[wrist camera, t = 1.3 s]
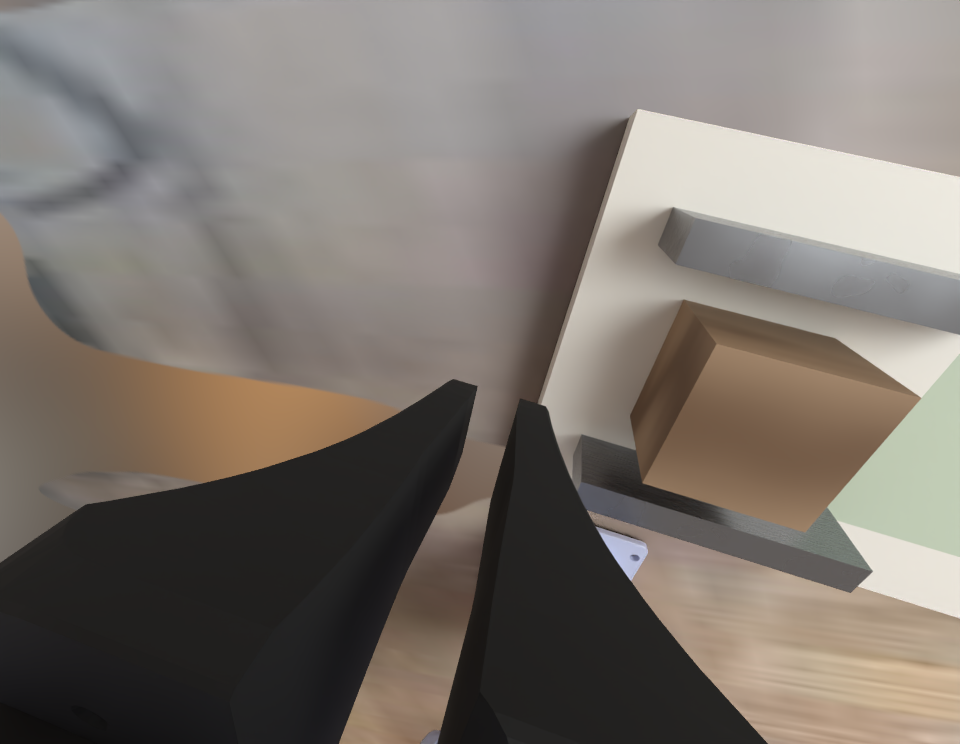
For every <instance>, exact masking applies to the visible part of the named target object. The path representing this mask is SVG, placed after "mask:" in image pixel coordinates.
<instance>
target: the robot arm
mask: <svg viewBox="0 0 960 744" xmlns="http://www.w3.org/2000/svg"><path fill="white" fill-rule="evenodd" d="M477 387H478V386H475V385H472V384H468V383H465V382H461V381H458V380H454V379H453V380H451V381H449V382H447V383H445V384H444V385H442V386H441V387H439V388H438V389H436V390H435V391H433V392H432V393H430V394H429V395H427V396H426V397H424V398H423V399H421V400H420V401H418V402H416V403H415V404H413V405H411V406H410V407H408V408H406V409H405V410H403V411H401V412H400V413H398V414H396V415H394V416H393V417H391V418H389V419H387V420H385V421H383V422H381V423H379V424H377V425H375V426H373V427H371V428H370V429H368V430H366V431H364V432H362V433H360V434H357V435H355V436H353V437H351V438H349V439H346V440H344V441H341V442H339V443H336V444H334V445H331V446H329V447H326V448H324V449H321V450H318V451H316V452H313V453H310V454H307V455H303V456H300V457H297V458H294V459H291V460H288V461H285V462H282V463H279V464H275V465H272V466H269V467H266V468H263V469H259V470H255V471H251V472H248V473H244V474H240V475H236V476H232V477H229V478H224V479H220V480H215V481H211V482H207V483H202V484H198V485H193V486H189V487H184V488H179V489H174V490H168V491H163V492H157V493H151V494H146V495H140V496H135V497H129V498H123V499H118V500H112V501H106V502H100V503H93V504H87V505H85V506H83V507H81V508H80V509H78V510H77V511H75V512H74V513H72V514H71V515H69V516H68V517H67V518H65V519H63V520H62V521H61V522H59V523H58V524H56V525H55V526H53V527H52V528H51V529H49V530H48V531H46V532H44V533H43V534H42V535H40V536H39V537H38V538H36V539H34V540H33V541H32V542H30V543H28V544H27V545H26V546H24V547H23V548H21V549H20V550H18V551H17V552H15V553H14V554H12V555H11V556H10V557H8V558H7V559H5V560H4V561H2V562H1V563H0V744H339V741H340V739H341V736H342V734H343V731H344V728H345V726H346V723H347V720H348V718H349V715H350V713H351V710H352V707H353V705H354V702H355V699H356V697H357V694H358V692H359V689H360V686H361V684H362V681H363V679H364V676H365V674H366V671H367V668H368V666H369V663H370V661H371V658H372V656H373V653H374V651H375V648H376V645H377V643H378V640H379V638H380V635H381V633H382V630H383V628H384V625H385V623H386V620H387V618H388V615H389V613H390V610H391V608H392V605H393V603H394V600H395V598H396V595H397V593H398V590H399V588H400V586H401V583H402V581H403V579H404V577H405V575H406V572H407V570H408V568H409V566H410V564H411V562H412V560H413V558H414V556H415V554H416V552H417V551H418V549H419V547H420V545H421V543H422V541H423V539H424V537H425V535H426V533H427V531H428V529H429V527H430V525H431V523H432V521H433V519H434V517H435V515H436V513H437V511H438V509H439V507H440V505H441V503H442V501H443V499H444V498H445V496H446V493H447V491H448V490H449V487H450V485H451V482H452V480H453V477H454V474H455V471H456V469H457V466H458V463H459V461H460V458H461V455H462V452H463V448H464V443H465V439H466V435H467V430H468V426H469V422H470V417H471V413H472V409H473V404H474V400H475V396H476V391H477ZM647 553H648V550H647V545H646V544H645V543H644V542H642V541H640V540H636V539H633V538H630V537H627V536H624V535H621V534H618V533H614V532H611V531H608V530H605V529H602V528H599V527H596V526H595V525H594V523H593V521H592V519H591V518H590V516H589V514H588V512H587V510H586V508H585V506H584V504H583V502H582V500H581V498H580V496H579V494H578V492H577V490H576V488H575V486H574V483H573V481H572V479H571V476H570V474H569V472H568V469H567V467H566V464H565V462H564V459H563V457H562V454H561V452H560V449H559V446H558V443H557V440H556V437H555V434H554V430H553V427H552V423H551V419H550V415H549V411H548V409H547V407H546V406H544V405H540V404H537V403H533V402H530V401H526V400H523V399H520V401H519V405H518V408H517V411H516V415H515V418H514V422H513V425H512V428H511V432H510V435H509V439H508V442H507V445H506V449H505V452H504V456H503V459H502V463H501V466H500V470H499V473H498V477H497V480H496V484H495V488H494V491H493V495H492V498H491V502H490V508H489V514H488V520H487V526H486V532H485V538H484V544H483V550H482V556H481V562H480V568H479V574H478V580H477V586H476V592H475V597H474V601H473V606H472V611H471V615H470V619H469V623H468V627H467V631H466V635H465V639H464V643H463V646H462V650H461V654H460V658H459V662H458V666H457V670H456V673H455V677H454V681H453V685H452V689H451V693H450V697H449V700H448V704H447V708H446V712H445V716H444V720H443V724H442V727H441V731H440V730H433V731H431V732H430V733H428V734H427V735H426V737H425V738H424V739H423V740H422V741H421V743H420V744H768V743H767V742H766V741H765V740H764V739H763V738H762V737H761V736H760V735H759V734H758V732H757V731H756V730H755V729H754V728H753V727H752V726H751V725H750V724H749V722H748V721H747V720H746V719H745V718H744V717H743V716H742V715H741V714H740V713H739V711H738V710H737V709H736V708H735V707H734V706H733V705H732V704H731V703H730V702H729V700H728V699H727V698H726V697H725V696H724V695H723V694H722V693H721V692H720V690H719V689H718V688H717V687H716V686H715V685H714V684H713V683H712V682H711V681H710V679H709V678H708V677H707V676H706V675H705V674H704V673H703V672H702V671H701V670H700V668H699V667H698V666H697V665H696V664H695V663H694V661H693V660H692V659H691V658H690V657H689V655H688V654H687V653H686V652H685V650H684V649H683V648H682V647H681V646H680V644H679V643H678V642H677V641H676V639H675V638H674V637H673V636H672V635H671V633H670V632H669V631H668V630H667V628H666V627H665V626H664V625H663V624H662V622H661V621H660V620H659V619H658V617H657V616H656V615H655V613H654V612H653V611H652V609H651V608H650V607H649V605H648V604H647V603H646V602H645V600H644V599H643V597H642V596H641V595H640V593H639V592H638V590H637V589H636V588H635V586H634V585H633V583H632V582H631V580H632V578H633V577H634V575H635V573H636V572H637V570H638V568H639V567H640V565H641V564H642V562H643V560H644V559H645V557H646V555H647Z"/></svg>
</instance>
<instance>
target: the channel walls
mask: <svg viewBox="0 0 960 744" xmlns="http://www.w3.org/2000/svg"><path fill="white" fill-rule="evenodd" d="M658 246H659V247H660V248H661V249H662V250H663V251H664V252H665V253H666V255H667V256H668V257H669V258H670V259H671V260H672V261H673V262H674V263H675V264H676V265H680V266H684V267H688V268H692V269H696V270H700V271H704V272H708V273H712V274H716V275H720V276H724V277H728V278H732V279H736V280H740V281H744V282H748V283H752V284H756V285H760V286H764V287H768V288H772V289H776V290H781V291H785V292H789V293H793V294H797V295H801V296H805V297H809V298H813V299H817V300H821V301H825V302H829V303H833V304H837V305H841V306H845V307H849V308H853V309H857V310H861V311H865V312H869V313H873V314H877V315H881V316H885V317H890V318H894V319H898V320H902V321H906V322H910V323H914V324H918V325H922V326H926V327H930V328H934V329H938V330H942V331H946V332H950V333H954V334H958V335H960V274H958V273H953V272H949V271H945V270H940V269H936V268H932V267H928V266H923V265H919V264H915V263H911V262H906V261H902V260H898V259H893V258H889V257H885V256H881V255H876V254H872V253H868V252H864V251H859V250H855V249H851V248H846V247H842V246H838V245H834V244H829V243H825V242H821V241H816V240H812V239H808V238H804V237H799V236H795V235H791V234H787V233H782V232H778V231H774V230H769V229H765V228H761V227H757V226H752V225H748V224H744V223H740V222H735V221H731V220H727V219H722V218H718V217H714V216H710V215H705V214H701V213H697V212H693V211H688V210H684V209H680V208H675V207H673V208H672V211H671V213H670V216H669V218H668V221H667V223H666V226H665V228H664V231H663V233H662V236H661V238H660V241H659V243H658ZM572 481H573V483H574V486H575V488H576V490H577V492H578V494H579V496H580V498H581V500H582V502H583V504H584V506H585V508H586V510H588V511H592V512H595V513H598V514H601V515H604V516H608V517H611V518H614V519H617V520H620V521H623V522H627V523H630V524H633V525H636V526H639V527H643V528H646V529H649V530H652V531H655V532H658V533H662V534H665V535H668V536H671V537H674V538H678V539H681V540H684V541H687V542H690V543H693V544H697V545H700V546H703V547H706V548H709V549H713V550H716V551H719V552H722V553H725V554H728V555H732V556H735V557H738V558H741V559H744V560H748V561H751V562H754V563H757V564H760V565H763V566H767V567H770V568H773V569H776V570H779V571H783V572H786V573H789V574H792V575H795V576H798V577H802V578H805V579H808V580H811V581H814V582H818V583H821V584H824V585H827V586H830V587H833V588H837V589H840V590H843V591H846V592H849V593H851V592H852V591H853V590H854V589H855V588H856V587H857V586H858V585H859V584H861V583H862V582H863V581H864V580H865V579H866V578H867V577H868V576H869V575H870V574H871V573H872V572H873V571H872V569H871V568H870V567H869V565H868V564H867V562H866V561H865V560H864V558H863V557H862V555H861V554H860V553H859V551H858V550H857V548H856V547H855V546H854V544H853V543H852V541H851V540H850V538H849V537H848V536H847V534H846V533H845V531H844V530H843V529H842V527H841V526H840V524H839V523H838V522H837V520H836V519H835V517H834V516H833V515H832V513H831V512H830V510H829V509H828V508H826V509H825V510H824V511H823V512H822V514H821V515H820V516H819V517H818V518H817V519H816V520H815V522H814V523H813V524H812V525H811V526H810V527H809V529H808V530H807V531H806V532H802V531H798V530H795V529H792V528H788V527H785V526H782V525H778V524H775V523H772V522H769V521H765V520H762V519H759V518H755V517H752V516H749V515H745V514H742V513H739V512H736V511H732V510H729V509H726V508H722V507H719V506H716V505H713V504H709V503H706V502H703V501H699V500H696V499H693V498H689V497H686V496H683V495H680V494H676V493H673V492H670V491H666V490H663V489H660V488H657V487H653V486H650V485H647V484H643V483H642V479H641V474H640V468H639V463H638V457H637V452H636V450H633V449H630V448H627V447H623V446H620V445H616V444H613V443H610V442H606V441H603V440H600V439H596V438H593V437H589V436H586V435H583V434H581V437H580V439H579V442H578V444H577V447H576V449H575V452H574V454H573V470H572Z"/></svg>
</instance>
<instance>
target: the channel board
mask: <svg viewBox="0 0 960 744" xmlns="http://www.w3.org/2000/svg"><path fill="white" fill-rule="evenodd" d="M673 207H675V208H680V209H684V210H688V211H693V212H697V213H701V214H705V215H710V216H714V217H718V218H722V219H727V220H731V221H735V222H740V223H744V224H748V225H752V226H757V227H761V228H765V229H769V230H774V231H778V232H782V233H787V234H791V235H795V236H799V237H804V238H808V239H812V240H816V241H821V242H825V243H829V244H834V245H838V246H842V247H846V248H851V249H855V250H859V251H864V252H868V253H872V254H876V255H881V256H885V257H889V258H893V259H898V260H902V261H906V262H911V263H915V264H919V265H923V266H928V267H932V268H936V269H940V270H945V271H949V272H953V273H958V274H960V177H956V176H952V175H947V174H942V173H938V172H933V171H928V170H923V169H919V168H914V167H909V166H905V165H900V164H895V163H890V162H886V161H881V160H876V159H871V158H867V157H862V156H857V155H853V154H848V153H843V152H838V151H834V150H829V149H824V148H820V147H815V146H810V145H805V144H801V143H796V142H791V141H787V140H782V139H777V138H772V137H768V136H763V135H758V134H753V133H749V132H744V131H739V130H735V129H730V128H725V127H720V126H716V125H711V124H706V123H702V122H697V121H692V120H687V119H683V118H678V117H673V116H669V115H664V114H659V113H654V112H650V111H645V110H640V109H637V110H636V111H635V112H634V113H633V114H632V115H631V116H630V117H629V120H628V124H627V127H626V130H625V133H624V136H623V139H622V142H621V145H620V148H619V152H618V155H617V158H616V161H615V164H614V167H613V170H612V173H611V176H610V180H609V183H608V186H607V189H606V192H605V195H604V198H603V201H602V204H601V208H600V211H599V214H598V217H597V220H596V223H595V226H594V229H593V232H592V236H591V239H590V242H589V245H588V248H587V251H586V254H585V257H584V260H583V264H582V267H581V270H580V273H579V276H578V279H577V282H576V285H575V288H574V292H573V295H572V298H571V301H570V304H569V307H568V310H567V313H566V316H565V320H564V323H563V326H562V329H561V332H560V335H559V338H558V341H557V344H556V348H555V351H554V354H553V357H552V360H551V363H550V366H549V369H548V372H547V376H546V379H545V382H544V385H543V388H542V391H541V394H540V397H539V400H538V404H540V405H544V406H546V407H547V409H548V411H549V415H550V419H551V423H552V427H553V430H554V434H555V437H556V440H557V443H558V446H559V449H560V452H561V454H562V457H563V459H564V462H565V464H566V467H567V469H568V472H569V474H570V476H571V479H572V470H573V454H574V452H575V449H576V447H577V444H578V442H579V439H580V437H581V434H583V435H586V436H589V437H593V438H596V439H600V440H603V441H606V442H610V443H613V444H616V445H620V446H623V447H627V448H630V449H633V450H636V447H635V441H634V436H633V430H632V425H631V420H630V414H631V412H632V410H633V408H634V406H635V404H636V402H637V399H638V397H639V395H640V393H641V391H642V389H643V386H644V384H645V382H646V380H647V378H648V376H649V373H650V371H651V369H652V367H653V365H654V363H655V360H656V358H657V356H658V354H659V352H660V350H661V347H662V345H663V343H664V341H665V339H666V337H667V335H668V332H669V330H670V328H671V326H672V324H673V322H674V319H675V317H676V315H677V313H678V311H679V309H680V306H681V304H682V302H683V300H688V301H692V302H696V303H700V304H704V305H708V306H712V307H715V308H719V309H723V310H727V311H731V312H735V313H739V314H743V315H747V316H751V317H755V318H758V319H762V320H766V321H770V322H774V323H778V324H782V325H786V326H790V327H794V328H798V329H801V330H805V331H809V332H813V333H817V334H821V335H825V336H829V337H833V338H836V339H837V340H839V341H840V342H842V343H843V344H844V345H846V346H847V347H849V348H850V349H852V350H853V351H855V352H856V353H857V354H859V355H860V356H862V357H863V358H865V359H866V360H868V361H869V362H870V363H872V364H873V365H875V366H876V367H878V368H879V369H881V370H882V371H883V372H885V373H886V374H888V375H889V376H891V377H892V378H894V379H895V380H896V381H898V382H899V383H901V384H902V385H904V386H905V387H907V388H908V389H909V390H911V391H912V392H914V393H915V394H917V395H918V396H919V397H921V399H920V401H919V402H918V403H917V404H916V405H915V406H914V408H913V409H912V410H911V411H910V412H909V413H908V414H907V416H906V417H905V418H904V419H903V420H902V421H901V423H900V424H899V425H898V426H897V427H896V428H895V429H894V431H893V432H892V433H891V434H890V435H889V436H888V438H887V439H886V440H885V441H884V442H883V443H882V444H881V446H880V447H879V448H878V449H877V450H876V451H875V452H874V454H873V455H872V456H871V457H870V458H869V459H868V461H867V462H866V463H865V464H864V465H863V466H862V467H861V469H860V470H859V471H858V472H857V473H856V474H855V476H854V477H853V478H852V479H851V480H850V481H849V482H848V484H847V485H846V486H845V487H844V488H843V489H842V491H841V492H840V493H839V494H838V495H837V496H836V497H835V499H834V500H833V501H832V502H831V503H830V504H829V505H828V507H827V508H828V509H829V510H830V512H831V513H832V515H833V516H834V517H835V519H836V520H837V522H838V523H839V524H840V526H841V527H842V529H843V530H844V531H845V533H846V534H847V536H848V537H849V538H850V540H851V541H852V543H853V544H854V546H855V547H856V548H857V550H858V551H859V553H860V554H861V555H862V557H863V558H864V560H865V561H866V562H867V564H868V565H869V567H870V568H871V569H872V571H873V572H872V573H871V574H870V575H869V576H868V577H867V578H866V579H865V580H864V581H863V582H862V583H861V584H859V585H858V587H861V588H864V589H867V590H871V591H874V592H877V593H880V594H883V595H887V596H890V597H893V598H896V599H899V600H903V601H906V602H909V603H912V604H915V605H919V606H922V607H925V608H928V609H931V610H935V611H938V612H941V613H944V614H947V615H951V616H954V617H957V618H960V335H958V334H954V333H950V332H946V331H942V330H938V329H934V328H930V327H926V326H922V325H918V324H914V323H910V322H906V321H902V320H898V319H894V318H890V317H885V316H881V315H877V314H873V313H869V312H865V311H861V310H857V309H853V308H849V307H845V306H841V305H837V304H833V303H829V302H825V301H821V300H817V299H813V298H809V297H805V296H801V295H797V294H793V293H789V292H785V291H781V290H776V289H772V288H768V287H764V286H760V285H756V284H752V283H748V282H744V281H740V280H736V279H732V278H728V277H724V276H720V275H716V274H712V273H708V272H704V271H700V270H696V269H692V268H688V267H684V266H680V265H676V264H675V263H674V262H673V261H672V260H671V259H670V258H669V257H668V256H667V255H666V253H665V252H664V251H663V250H662V249H661V248H660V247H659V246H658V243H659V241H660V238H661V236H662V233H663V231H664V228H665V226H666V223H667V221H668V218H669V216H670V213H671V211H672V208H673Z"/></svg>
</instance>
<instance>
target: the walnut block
mask: <svg viewBox="0 0 960 744" xmlns="http://www.w3.org/2000/svg"><path fill="white" fill-rule="evenodd" d="M920 399H921V397H919V396H918V395H917V394H915V393H914V392H912V391H911V390H909V389H908V388H907V387H905V386H904V385H902V384H901V383H899V382H898V381H896V380H895V379H894V378H892V377H891V376H889V375H888V374H886V373H885V372H883V371H882V370H881V369H879V368H878V367H876V366H875V365H873V364H872V363H870V362H869V361H868V360H866V359H865V358H863V357H862V356H860V355H859V354H857V353H856V352H855V351H853V350H852V349H850V348H849V347H847V346H846V345H844V344H843V343H842V342H840V341H839V340H837V339H836V338H833V337H829V336H825V335H821V334H817V333H813V332H809V331H805V330H801V329H798V328H794V327H790V326H786V325H782V324H778V323H774V322H770V321H766V320H762V319H758V318H755V317H751V316H747V315H743V314H739V313H735V312H731V311H727V310H723V309H719V308H715V307H712V306H708V305H704V304H700V303H696V302H692V301H688V300H683V302H682V304H681V306H680V309H679V311H678V313H677V315H676V317H675V319H674V322H673V324H672V326H671V328H670V330H669V332H668V335H667V337H666V339H665V341H664V343H663V345H662V347H661V350H660V352H659V354H658V356H657V358H656V360H655V363H654V365H653V367H652V369H651V371H650V373H649V376H648V378H647V380H646V382H645V384H644V386H643V389H642V391H641V393H640V395H639V397H638V399H637V402H636V404H635V406H634V408H633V410H632V412H631V414H630V420H631V425H632V430H633V436H634V441H635V447H636V452H637V457H638V463H639V468H640V474H641V479H642V483H643V484H647V485H650V486H653V487H657V488H660V489H663V490H666V491H670V492H673V493H676V494H680V495H683V496H686V497H689V498H693V499H696V500H699V501H703V502H706V503H709V504H713V505H716V506H719V507H722V508H726V509H729V510H732V511H736V512H739V513H742V514H745V515H749V516H752V517H755V518H759V519H762V520H765V521H769V522H772V523H775V524H778V525H782V526H785V527H788V528H792V529H795V530H798V531H802V532H806V531H807V530H808V529H809V527H810V526H811V525H812V524H813V523H814V522H815V520H816V519H817V518H818V517H819V516H820V515H821V514H822V512H823V511H824V510H825V509H826V508H827V507H828V505H829V504H830V503H831V502H832V501H833V500H834V499H835V497H836V496H837V495H838V494H839V493H840V492H841V491H842V489H843V488H844V487H845V486H846V485H847V484H848V482H849V481H850V480H851V479H852V478H853V477H854V476H855V474H856V473H857V472H858V471H859V470H860V469H861V467H862V466H863V465H864V464H865V463H866V462H867V461H868V459H869V458H870V457H871V456H872V455H873V454H874V452H875V451H876V450H877V449H878V448H879V447H880V446H881V444H882V443H883V442H884V441H885V440H886V439H887V438H888V436H889V435H890V434H891V433H892V432H893V431H894V429H895V428H896V427H897V426H898V425H899V424H900V423H901V421H902V420H903V419H904V418H905V417H906V416H907V414H908V413H909V412H910V411H911V410H912V409H913V408H914V406H915V405H916V404H917V403H918V402H919V401H920Z"/></svg>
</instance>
